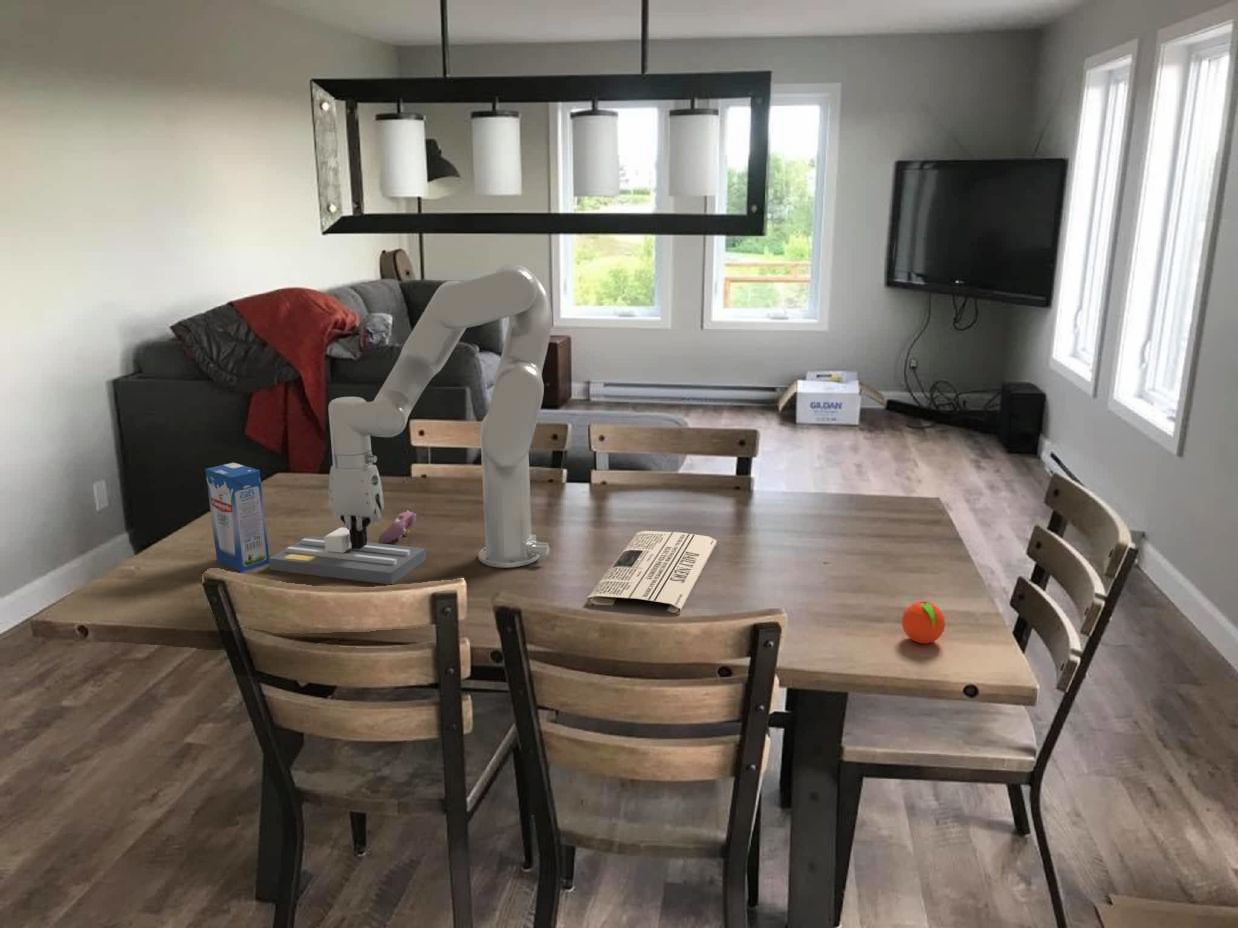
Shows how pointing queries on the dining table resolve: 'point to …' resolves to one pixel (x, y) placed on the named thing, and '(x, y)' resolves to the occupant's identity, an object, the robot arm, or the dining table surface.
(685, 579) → the newspaper
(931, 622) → the clementine
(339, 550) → the fader knob
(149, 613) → the dining table surface
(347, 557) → the fader console
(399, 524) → the video game controller
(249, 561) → the milk carton
